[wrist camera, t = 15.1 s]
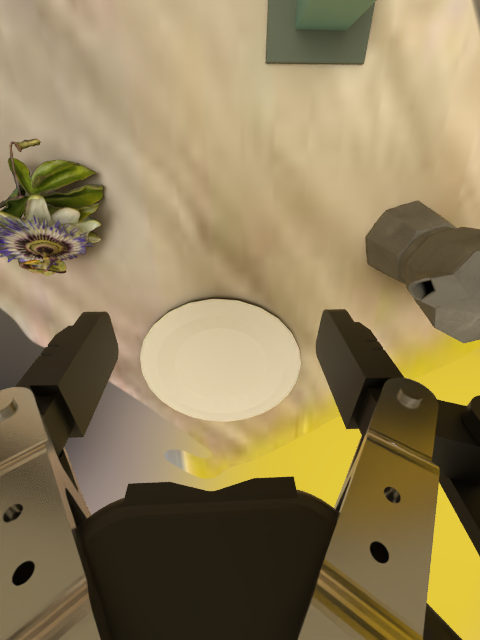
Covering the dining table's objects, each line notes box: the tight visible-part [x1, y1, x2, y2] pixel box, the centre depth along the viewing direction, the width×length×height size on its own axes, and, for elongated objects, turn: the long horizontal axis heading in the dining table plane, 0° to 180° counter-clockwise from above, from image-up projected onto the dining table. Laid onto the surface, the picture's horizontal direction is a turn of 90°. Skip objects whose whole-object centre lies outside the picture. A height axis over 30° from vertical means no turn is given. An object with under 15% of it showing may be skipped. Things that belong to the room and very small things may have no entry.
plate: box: [140, 298, 301, 422], centre depth 45 cm, size 25×25×2 cm
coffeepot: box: [366, 201, 480, 343], centre depth 28 cm, size 15×9×18 cm, turn 85°
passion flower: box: [0, 139, 103, 276], centre depth 30 cm, size 11×11×12 cm
